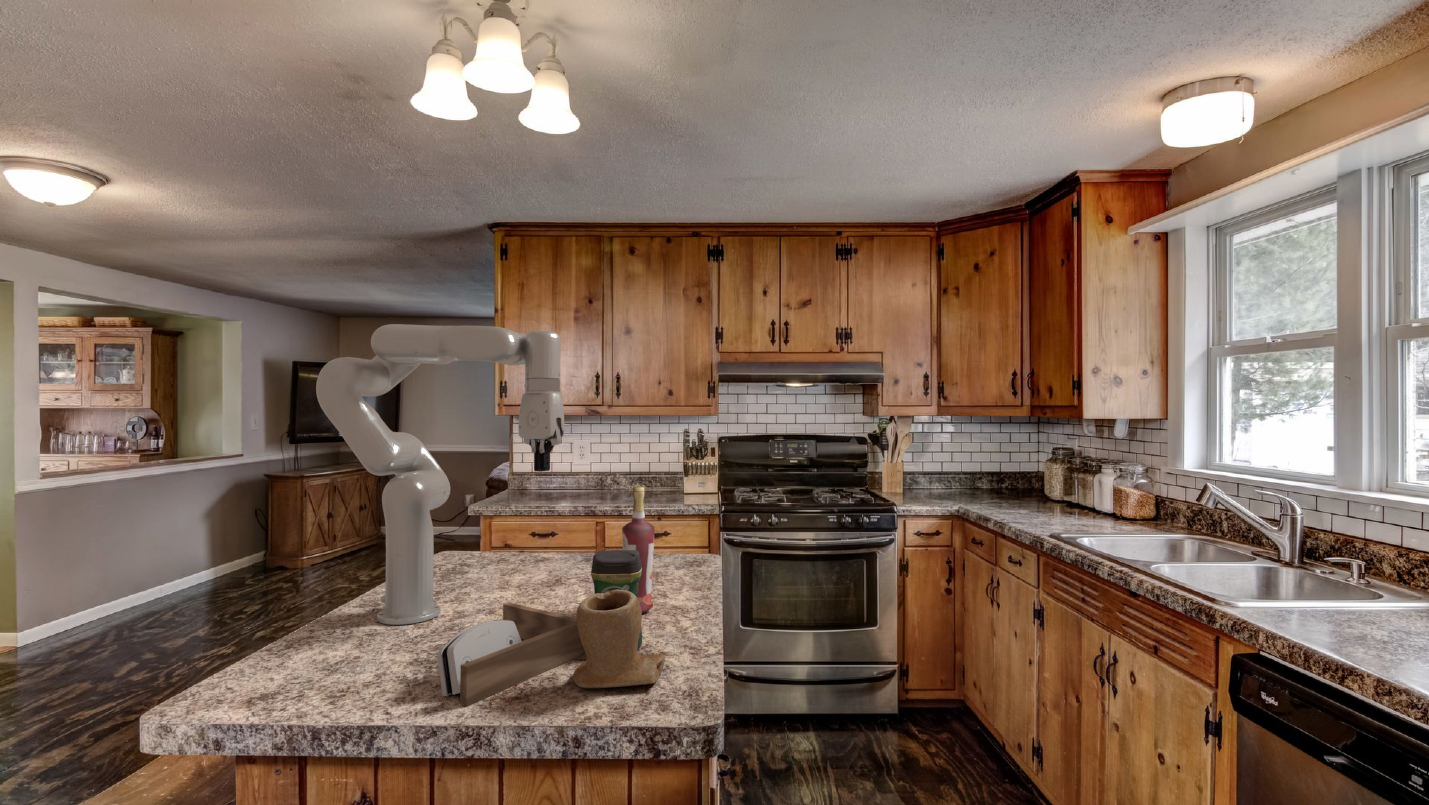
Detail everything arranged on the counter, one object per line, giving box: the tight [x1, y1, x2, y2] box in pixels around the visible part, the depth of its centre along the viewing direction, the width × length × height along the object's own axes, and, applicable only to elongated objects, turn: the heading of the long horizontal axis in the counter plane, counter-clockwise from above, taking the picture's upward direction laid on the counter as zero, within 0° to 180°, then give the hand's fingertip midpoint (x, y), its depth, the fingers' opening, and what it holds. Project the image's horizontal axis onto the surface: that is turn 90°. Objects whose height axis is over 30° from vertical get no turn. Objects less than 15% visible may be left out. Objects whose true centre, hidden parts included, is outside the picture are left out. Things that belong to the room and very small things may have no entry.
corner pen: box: [459, 602, 586, 708], centre depth 114 cm, size 22×26×6 cm
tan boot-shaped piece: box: [572, 590, 666, 689], centre depth 106 cm, size 15×12×15 cm
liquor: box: [621, 486, 656, 614], centre depth 145 cm, size 7×7×28 cm
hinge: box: [436, 619, 523, 697], centre depth 108 cm, size 17×5×10 cm, turn 158°
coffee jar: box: [590, 549, 643, 651], centre depth 122 cm, size 10×8×19 cm
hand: (542, 470), depth 141 cm, fingers closed
